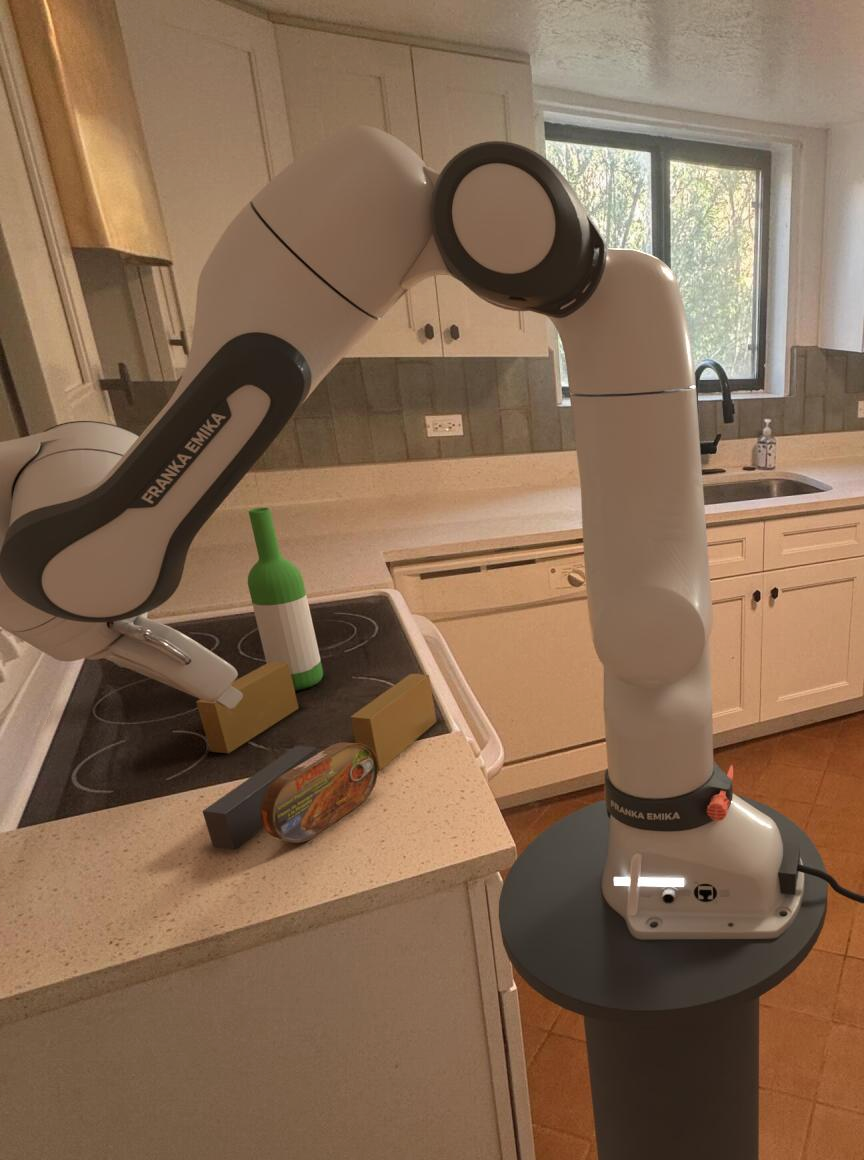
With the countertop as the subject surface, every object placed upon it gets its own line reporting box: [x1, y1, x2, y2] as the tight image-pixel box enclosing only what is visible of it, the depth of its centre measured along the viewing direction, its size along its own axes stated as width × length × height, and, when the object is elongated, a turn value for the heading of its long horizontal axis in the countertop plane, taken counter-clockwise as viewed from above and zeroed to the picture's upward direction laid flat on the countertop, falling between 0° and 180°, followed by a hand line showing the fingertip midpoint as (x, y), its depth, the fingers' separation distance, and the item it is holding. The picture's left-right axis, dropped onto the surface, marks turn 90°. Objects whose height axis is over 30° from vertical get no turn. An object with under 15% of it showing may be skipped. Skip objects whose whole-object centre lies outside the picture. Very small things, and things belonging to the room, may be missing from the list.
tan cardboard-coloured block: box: [195, 661, 299, 754], centre depth 116 cm, size 3×14×8 cm, turn 169°
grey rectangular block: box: [202, 745, 318, 851], centre depth 97 cm, size 3×15×5 cm, turn 169°
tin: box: [260, 741, 379, 844], centre depth 95 cm, size 15×3×8 cm, turn 159°
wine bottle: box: [247, 507, 324, 692], centre depth 127 cm, size 8×8×30 cm
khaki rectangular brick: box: [349, 672, 437, 771], centre depth 112 cm, size 3×14×8 cm, turn 169°
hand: (205, 688), depth 79 cm, fingers open, 8 cm apart
